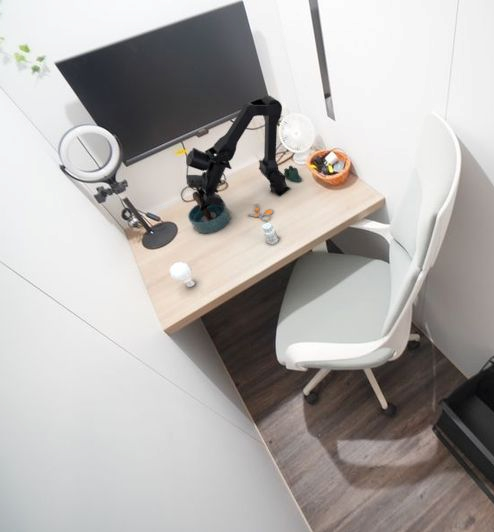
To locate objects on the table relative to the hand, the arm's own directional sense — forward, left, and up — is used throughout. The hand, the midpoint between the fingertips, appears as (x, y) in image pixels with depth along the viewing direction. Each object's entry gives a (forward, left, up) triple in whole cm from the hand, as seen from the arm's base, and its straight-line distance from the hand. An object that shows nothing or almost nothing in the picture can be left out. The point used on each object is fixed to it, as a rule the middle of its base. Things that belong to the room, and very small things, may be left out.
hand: (200, 208), depth 129 cm
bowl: (-2, 0, -8) cm, 8 cm away
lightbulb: (+23, +23, -8) cm, 34 cm away
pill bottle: (-9, +31, -8) cm, 34 cm away
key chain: (-17, +14, -8) cm, 24 cm away
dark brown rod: (-1, 0, -8) cm, 8 cm away
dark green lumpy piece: (-43, +7, -8) cm, 44 cm away
